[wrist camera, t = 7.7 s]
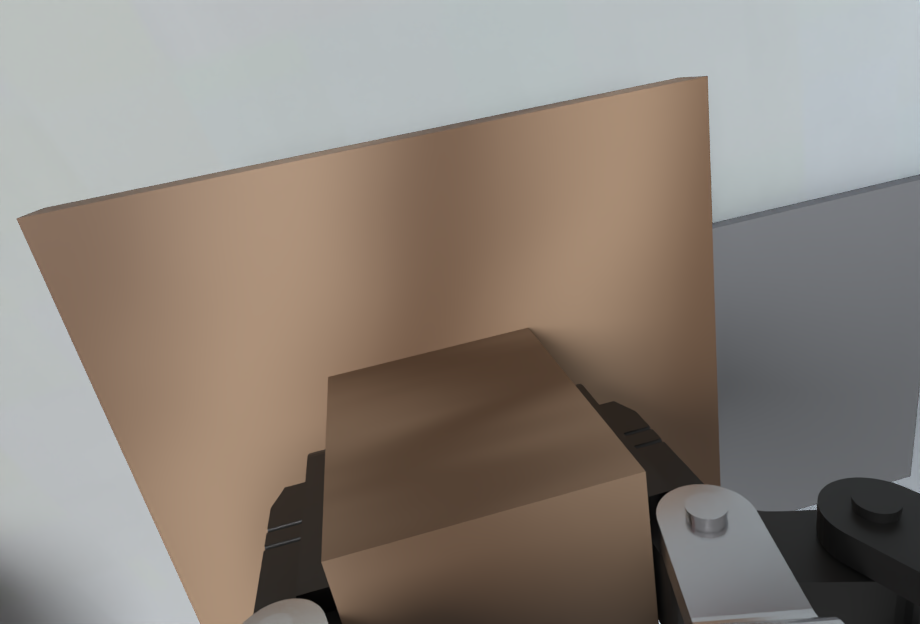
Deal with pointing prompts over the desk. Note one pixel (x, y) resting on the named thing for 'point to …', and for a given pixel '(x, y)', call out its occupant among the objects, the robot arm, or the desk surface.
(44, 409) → the desk surface
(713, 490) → the robot arm
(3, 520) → the desk surface
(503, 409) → the lid
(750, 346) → the mat
